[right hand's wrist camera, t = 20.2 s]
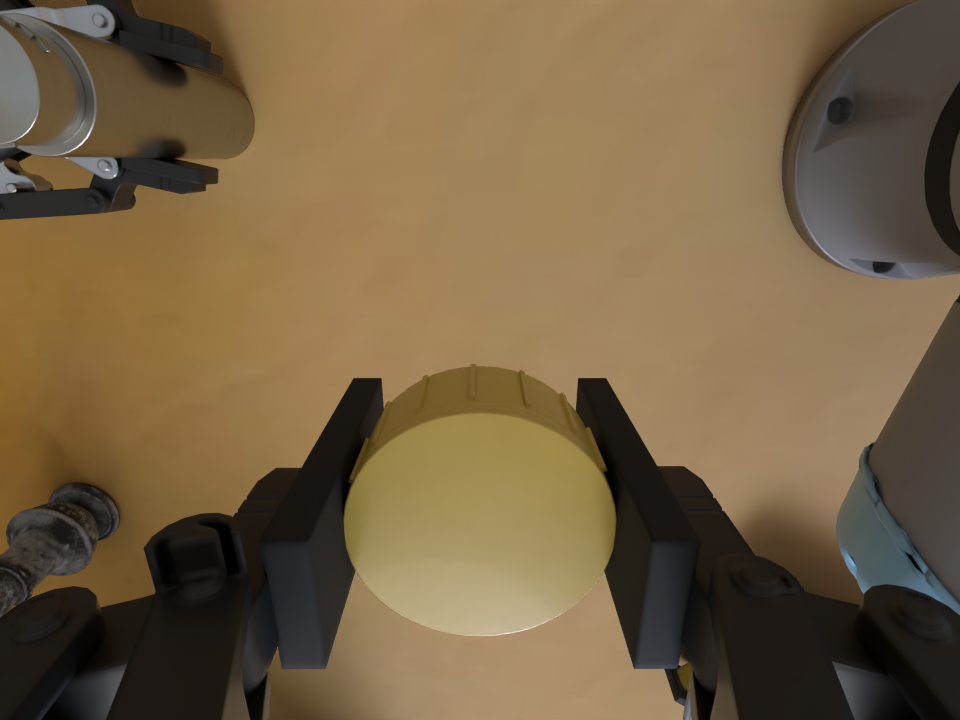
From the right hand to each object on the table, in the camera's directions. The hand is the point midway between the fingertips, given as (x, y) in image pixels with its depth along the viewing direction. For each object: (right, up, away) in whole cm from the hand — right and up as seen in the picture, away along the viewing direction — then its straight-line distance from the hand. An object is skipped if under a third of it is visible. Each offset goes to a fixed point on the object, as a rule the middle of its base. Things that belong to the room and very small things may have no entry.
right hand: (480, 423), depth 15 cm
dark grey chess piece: (-31, -10, +26) cm, 42 cm away
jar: (-16, +16, +16) cm, 28 cm away
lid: (0, -2, -4) cm, 4 cm away
